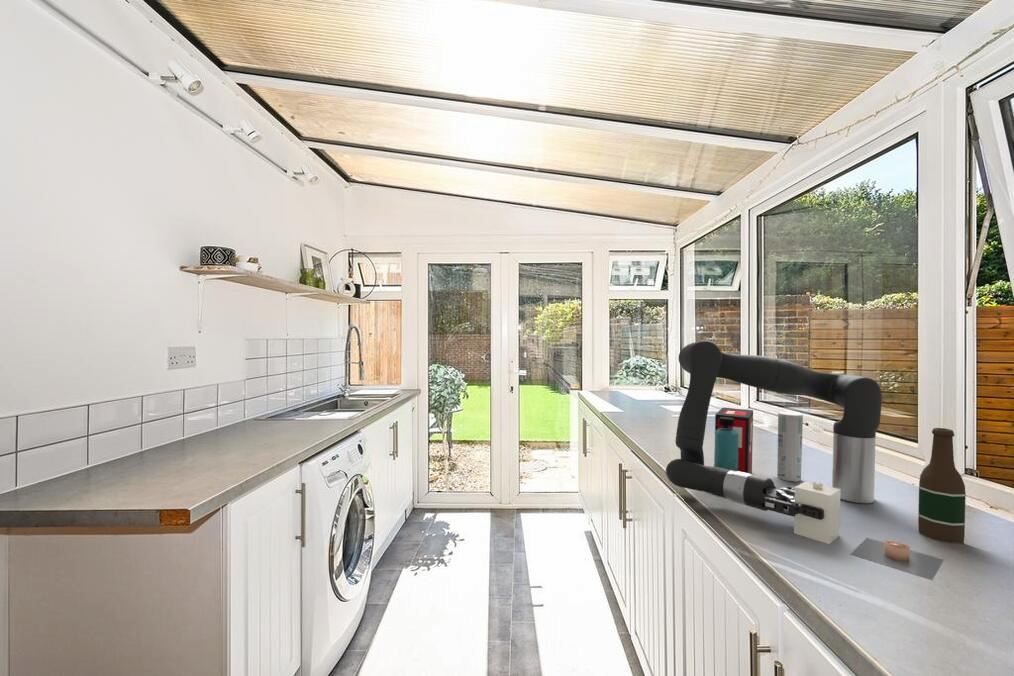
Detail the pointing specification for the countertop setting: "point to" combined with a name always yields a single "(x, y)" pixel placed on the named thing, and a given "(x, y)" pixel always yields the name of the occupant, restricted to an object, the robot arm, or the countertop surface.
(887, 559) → the slate coaster
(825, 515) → the knobbed cream block
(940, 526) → the beer bottle
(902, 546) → the ramekin
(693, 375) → the robot arm
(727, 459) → the beverage bottle
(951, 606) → the countertop surface
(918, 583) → the countertop surface
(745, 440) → the cleaning product box
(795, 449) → the spray can
